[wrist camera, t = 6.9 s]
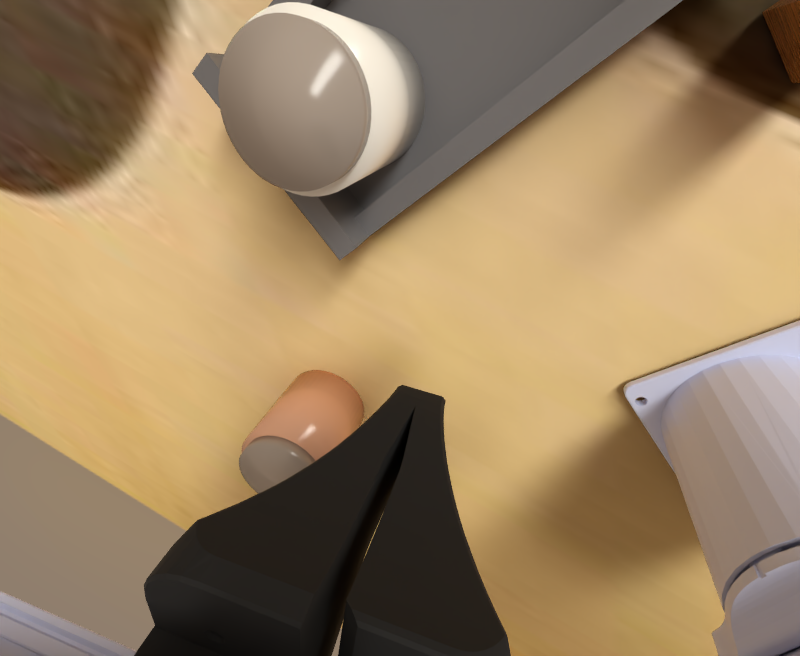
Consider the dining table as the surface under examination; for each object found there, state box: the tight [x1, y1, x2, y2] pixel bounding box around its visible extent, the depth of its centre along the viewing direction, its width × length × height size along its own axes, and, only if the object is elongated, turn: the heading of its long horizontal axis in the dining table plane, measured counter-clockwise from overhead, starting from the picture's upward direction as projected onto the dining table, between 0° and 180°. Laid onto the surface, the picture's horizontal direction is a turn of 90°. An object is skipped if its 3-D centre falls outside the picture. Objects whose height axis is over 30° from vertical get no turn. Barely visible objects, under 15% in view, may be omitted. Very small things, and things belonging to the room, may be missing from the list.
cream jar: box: [218, 2, 425, 197], centre depth 14 cm, size 5×5×6 cm
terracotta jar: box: [239, 370, 364, 493], centre depth 24 cm, size 5×5×6 cm
